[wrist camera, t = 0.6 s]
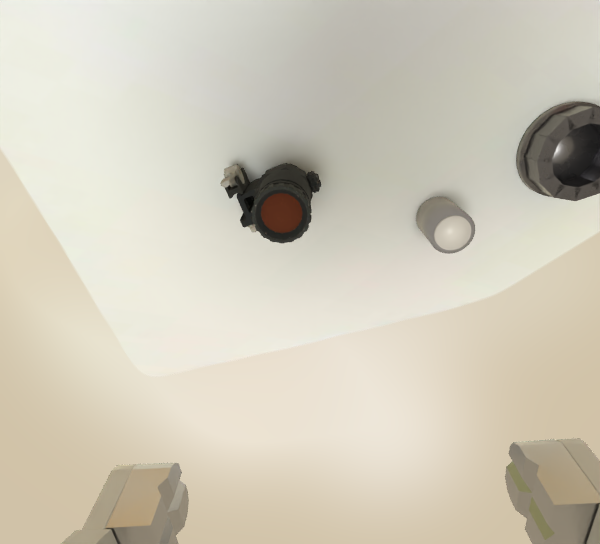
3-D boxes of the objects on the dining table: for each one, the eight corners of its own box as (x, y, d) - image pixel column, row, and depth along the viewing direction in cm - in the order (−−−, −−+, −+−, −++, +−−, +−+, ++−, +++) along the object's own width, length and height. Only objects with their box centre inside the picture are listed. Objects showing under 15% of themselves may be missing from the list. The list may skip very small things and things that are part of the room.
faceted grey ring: (538, 94, 44) (558, 95, 41) (627, 110, 45) (655, 112, 41) (503, 187, 49) (518, 195, 45) (584, 200, 49) (606, 210, 46)
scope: (199, 194, 35) (306, 155, 34) (227, 165, 48) (306, 135, 46) (236, 273, 39) (336, 240, 37) (253, 226, 51) (328, 200, 50)
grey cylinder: (422, 193, 49) (438, 208, 43) (462, 200, 49) (482, 215, 44) (411, 232, 51) (424, 250, 46) (449, 237, 52) (467, 257, 46)
